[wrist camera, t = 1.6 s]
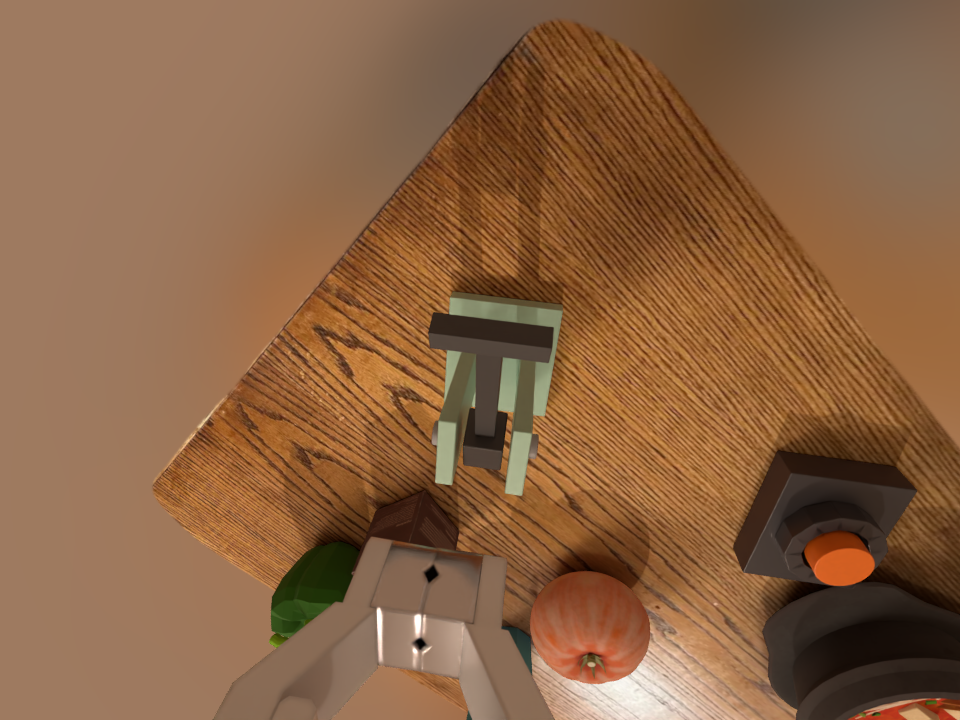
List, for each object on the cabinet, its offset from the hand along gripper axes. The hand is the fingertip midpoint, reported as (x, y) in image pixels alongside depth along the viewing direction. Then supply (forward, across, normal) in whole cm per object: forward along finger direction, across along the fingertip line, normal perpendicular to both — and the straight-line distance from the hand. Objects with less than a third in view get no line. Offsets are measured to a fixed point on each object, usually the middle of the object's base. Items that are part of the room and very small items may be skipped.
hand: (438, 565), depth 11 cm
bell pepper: (+27, +14, +35) cm, 46 cm away
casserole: (+27, -38, +36) cm, 59 cm away
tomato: (+27, -11, +34) cm, 45 cm away
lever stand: (+27, 0, +9) cm, 28 cm away
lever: (+15, 0, +4) cm, 16 cm away
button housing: (+27, -27, +20) cm, 43 cm away
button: (+23, -27, +20) cm, 41 cm away
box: (+27, +6, +28) cm, 39 cm away
